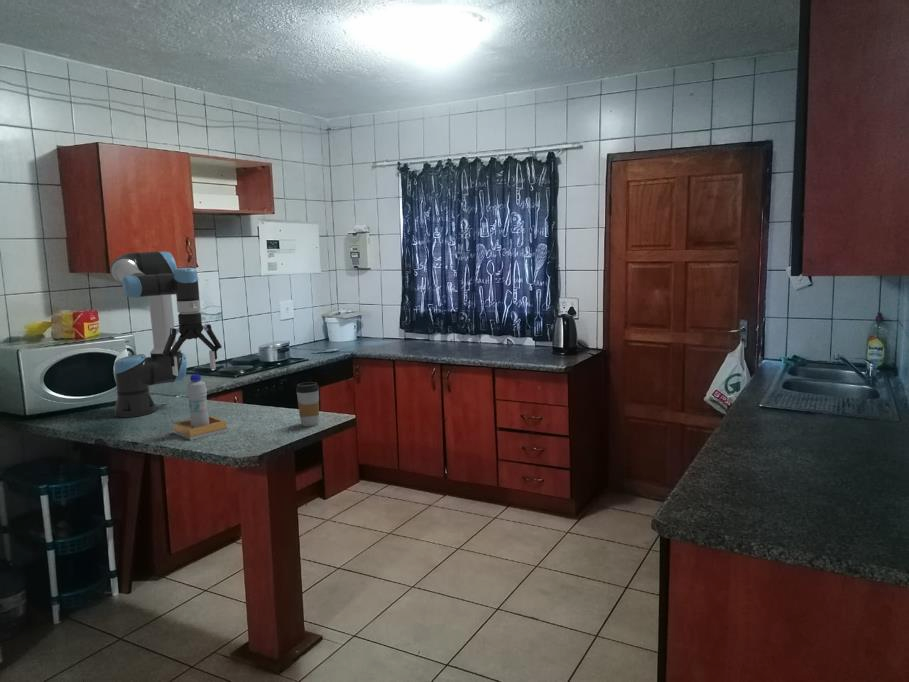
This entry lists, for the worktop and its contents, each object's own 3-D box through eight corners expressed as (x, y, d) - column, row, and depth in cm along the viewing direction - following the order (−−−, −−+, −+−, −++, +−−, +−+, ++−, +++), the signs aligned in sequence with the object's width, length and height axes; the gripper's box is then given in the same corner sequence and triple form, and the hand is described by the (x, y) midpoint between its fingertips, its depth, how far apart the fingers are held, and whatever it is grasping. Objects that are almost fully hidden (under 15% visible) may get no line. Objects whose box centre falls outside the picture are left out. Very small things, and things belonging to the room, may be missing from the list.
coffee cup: (296, 423, 245) (293, 383, 242) (318, 419, 248) (316, 380, 246) (300, 428, 237) (297, 387, 235) (323, 425, 240) (320, 385, 238)
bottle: (203, 431, 233) (198, 376, 230) (186, 431, 234) (181, 376, 231) (214, 426, 239) (209, 372, 237) (197, 425, 241) (192, 372, 238)
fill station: (172, 432, 238) (171, 422, 237) (210, 424, 247) (209, 414, 247) (190, 440, 227) (189, 430, 226) (228, 431, 237) (227, 421, 236)
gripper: (157, 317, 219) (163, 379, 223) (228, 309, 237) (232, 367, 240) (148, 315, 225) (154, 376, 228) (218, 308, 242) (223, 365, 245)
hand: (194, 372), depth 234 cm, fingers open, 13 cm apart
